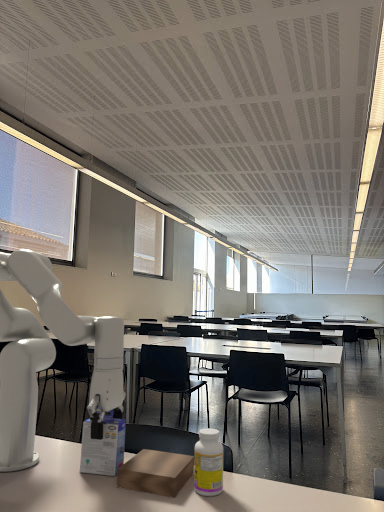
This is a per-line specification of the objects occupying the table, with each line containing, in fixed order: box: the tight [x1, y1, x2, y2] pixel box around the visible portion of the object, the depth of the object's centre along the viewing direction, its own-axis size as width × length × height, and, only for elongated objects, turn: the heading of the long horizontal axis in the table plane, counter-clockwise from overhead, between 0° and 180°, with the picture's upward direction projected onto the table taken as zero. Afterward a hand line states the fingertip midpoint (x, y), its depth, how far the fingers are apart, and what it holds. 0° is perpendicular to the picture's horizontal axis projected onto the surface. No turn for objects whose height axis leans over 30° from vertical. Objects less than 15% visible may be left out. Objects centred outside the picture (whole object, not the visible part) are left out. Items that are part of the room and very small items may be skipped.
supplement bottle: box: [193, 428, 224, 497], centre depth 89 cm, size 7×7×13 cm
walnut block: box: [116, 448, 195, 498], centre depth 93 cm, size 14×14×4 cm
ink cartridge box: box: [79, 410, 127, 477], centre depth 98 cm, size 10×6×14 cm, turn 78°
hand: (107, 433), depth 98 cm, fingers open, 9 cm apart
